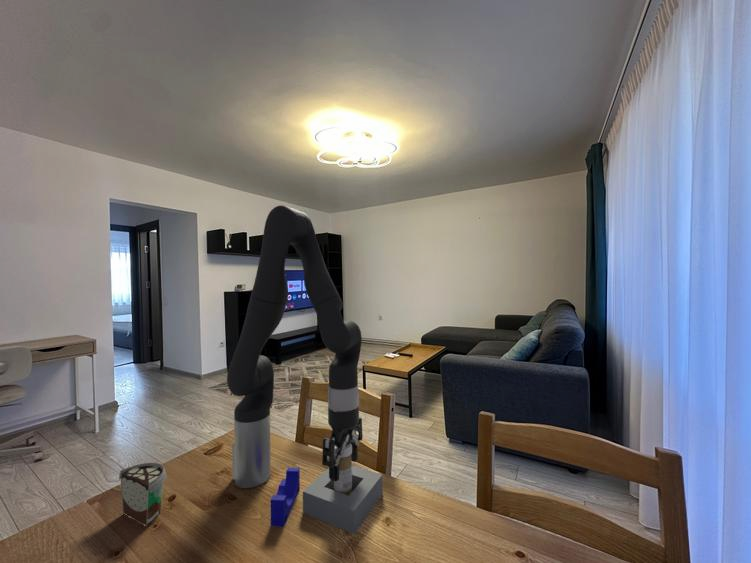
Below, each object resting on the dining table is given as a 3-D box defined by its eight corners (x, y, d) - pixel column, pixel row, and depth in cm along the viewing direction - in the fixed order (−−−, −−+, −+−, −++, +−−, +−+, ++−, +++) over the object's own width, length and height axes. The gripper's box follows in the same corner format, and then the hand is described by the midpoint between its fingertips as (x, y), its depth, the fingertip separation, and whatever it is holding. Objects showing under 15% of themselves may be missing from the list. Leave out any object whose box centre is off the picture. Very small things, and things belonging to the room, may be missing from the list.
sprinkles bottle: (349, 492, 79) (349, 438, 79) (354, 504, 74) (354, 447, 74) (331, 496, 77) (331, 441, 77) (335, 508, 73) (335, 451, 73)
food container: (178, 510, 74) (178, 468, 74) (150, 529, 68) (150, 484, 68) (147, 496, 79) (147, 456, 79) (119, 512, 73) (119, 470, 73)
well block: (302, 512, 73) (302, 491, 73) (336, 478, 85) (336, 460, 85) (354, 534, 66) (354, 510, 66) (382, 494, 79) (382, 474, 79)
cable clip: (282, 490, 81) (282, 467, 81) (299, 490, 81) (299, 467, 81) (264, 526, 69) (263, 499, 69) (284, 527, 69) (283, 500, 69)
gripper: (346, 391, 84) (346, 451, 84) (312, 411, 71) (313, 482, 71) (370, 396, 80) (371, 458, 80) (340, 418, 68) (340, 492, 68)
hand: (344, 469), depth 76 cm, fingers open, 8 cm apart
